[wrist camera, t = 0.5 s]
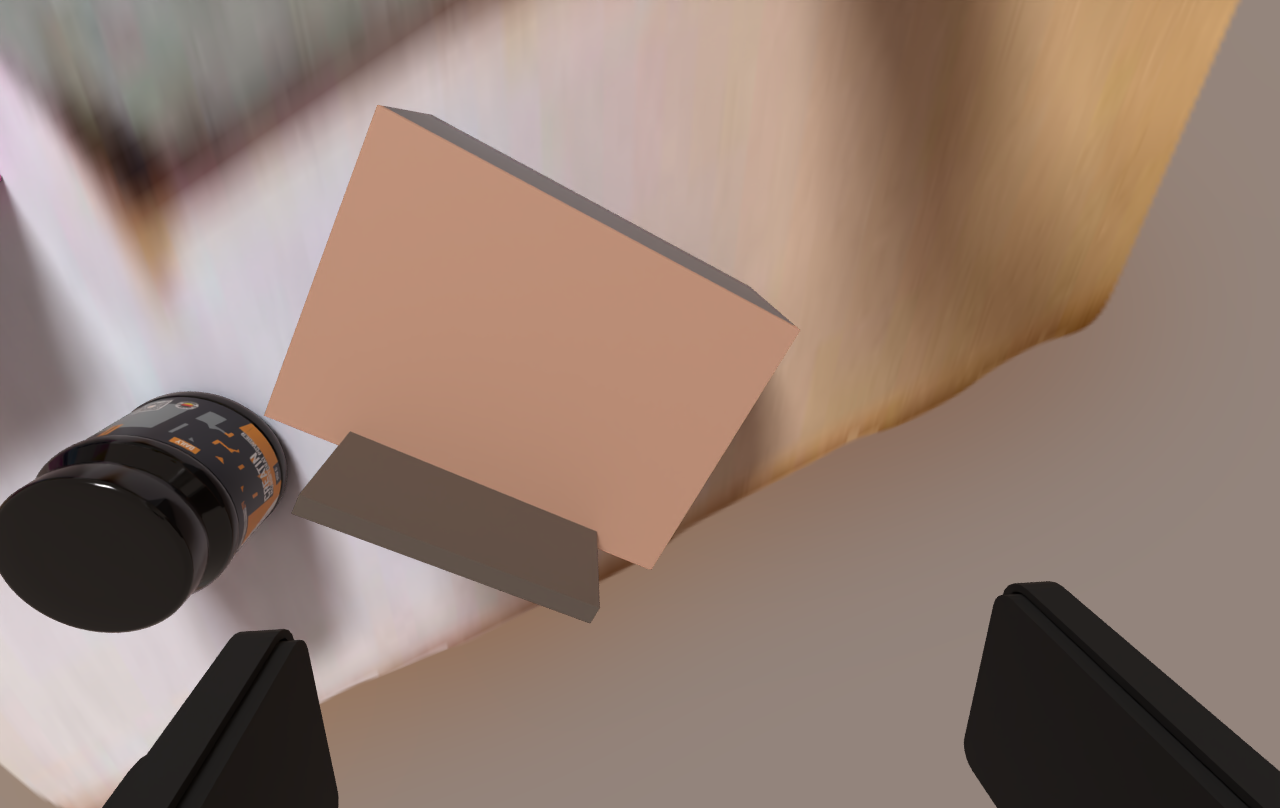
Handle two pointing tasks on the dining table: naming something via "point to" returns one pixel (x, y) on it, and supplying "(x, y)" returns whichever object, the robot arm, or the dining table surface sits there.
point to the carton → (585, 206)
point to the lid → (509, 375)
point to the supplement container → (141, 512)
